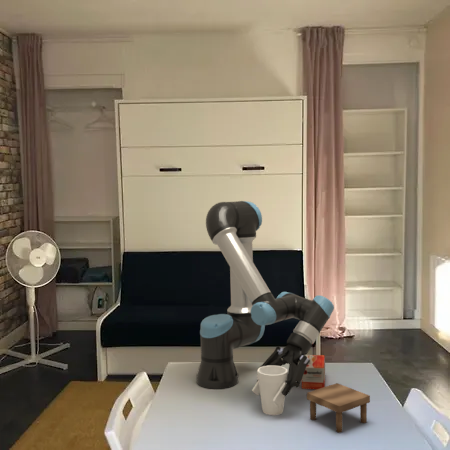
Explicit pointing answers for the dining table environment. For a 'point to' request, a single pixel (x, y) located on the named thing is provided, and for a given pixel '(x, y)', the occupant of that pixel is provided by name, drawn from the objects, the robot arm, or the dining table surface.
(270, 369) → the foam cup
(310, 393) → the stool
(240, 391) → the dining table surface
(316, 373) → the medicine box
